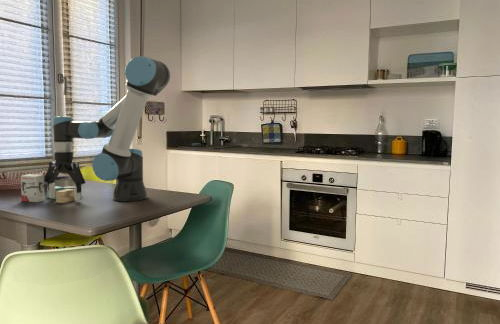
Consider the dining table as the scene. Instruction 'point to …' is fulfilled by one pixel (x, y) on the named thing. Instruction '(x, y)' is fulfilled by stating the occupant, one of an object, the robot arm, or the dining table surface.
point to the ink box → (32, 188)
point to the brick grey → (70, 188)
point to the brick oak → (65, 195)
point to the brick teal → (55, 190)
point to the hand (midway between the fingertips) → (64, 198)
